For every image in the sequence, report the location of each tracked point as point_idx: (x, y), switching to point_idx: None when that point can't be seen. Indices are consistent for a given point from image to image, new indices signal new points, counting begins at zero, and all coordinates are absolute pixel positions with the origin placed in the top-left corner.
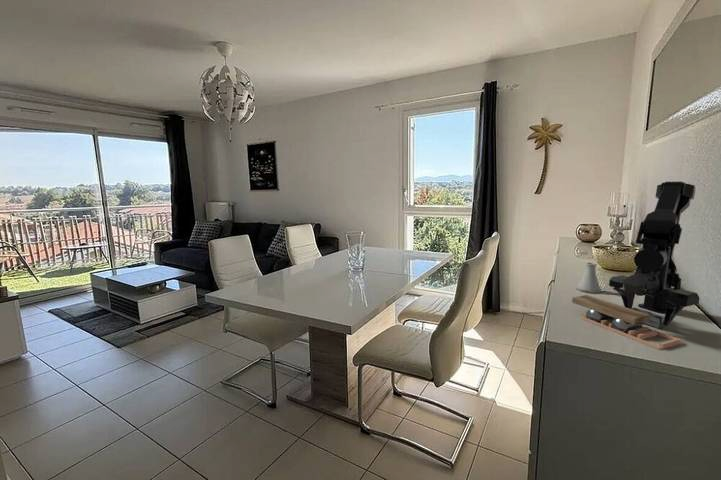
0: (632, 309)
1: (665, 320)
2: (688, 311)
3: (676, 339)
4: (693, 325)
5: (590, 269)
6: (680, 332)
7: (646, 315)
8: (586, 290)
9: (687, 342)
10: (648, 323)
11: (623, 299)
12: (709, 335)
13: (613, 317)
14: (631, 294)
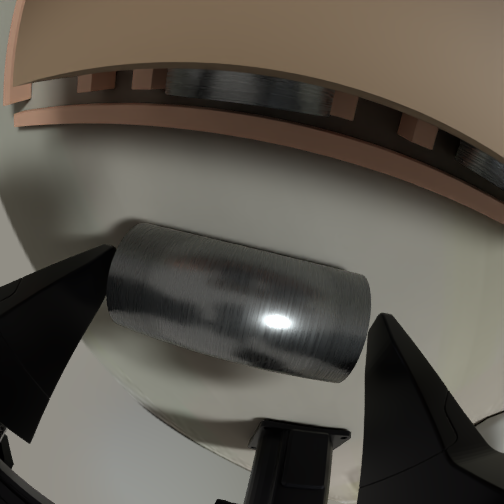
0: (271, 65)
1: (78, 262)
2: (224, 445)
3: (7, 75)
4: (141, 371)
5: None
6: None
7: (24, 20)
8: (500, 418)
9: (25, 152)
10: (208, 238)
11: (454, 411)
12: None
13: (458, 150)
14: (386, 492)
